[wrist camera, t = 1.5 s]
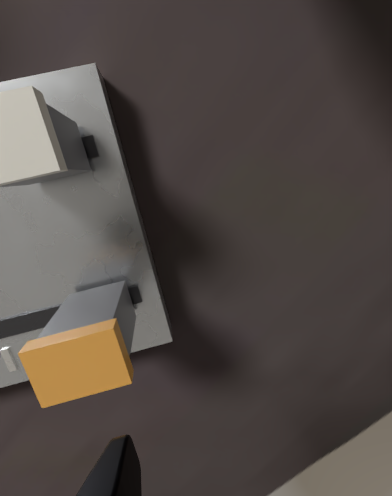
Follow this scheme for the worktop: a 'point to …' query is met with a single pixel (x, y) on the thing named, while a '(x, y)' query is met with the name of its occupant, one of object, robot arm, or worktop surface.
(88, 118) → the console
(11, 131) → the cream fader
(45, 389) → the orange fader
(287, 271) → the worktop surface
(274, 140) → the worktop surface
